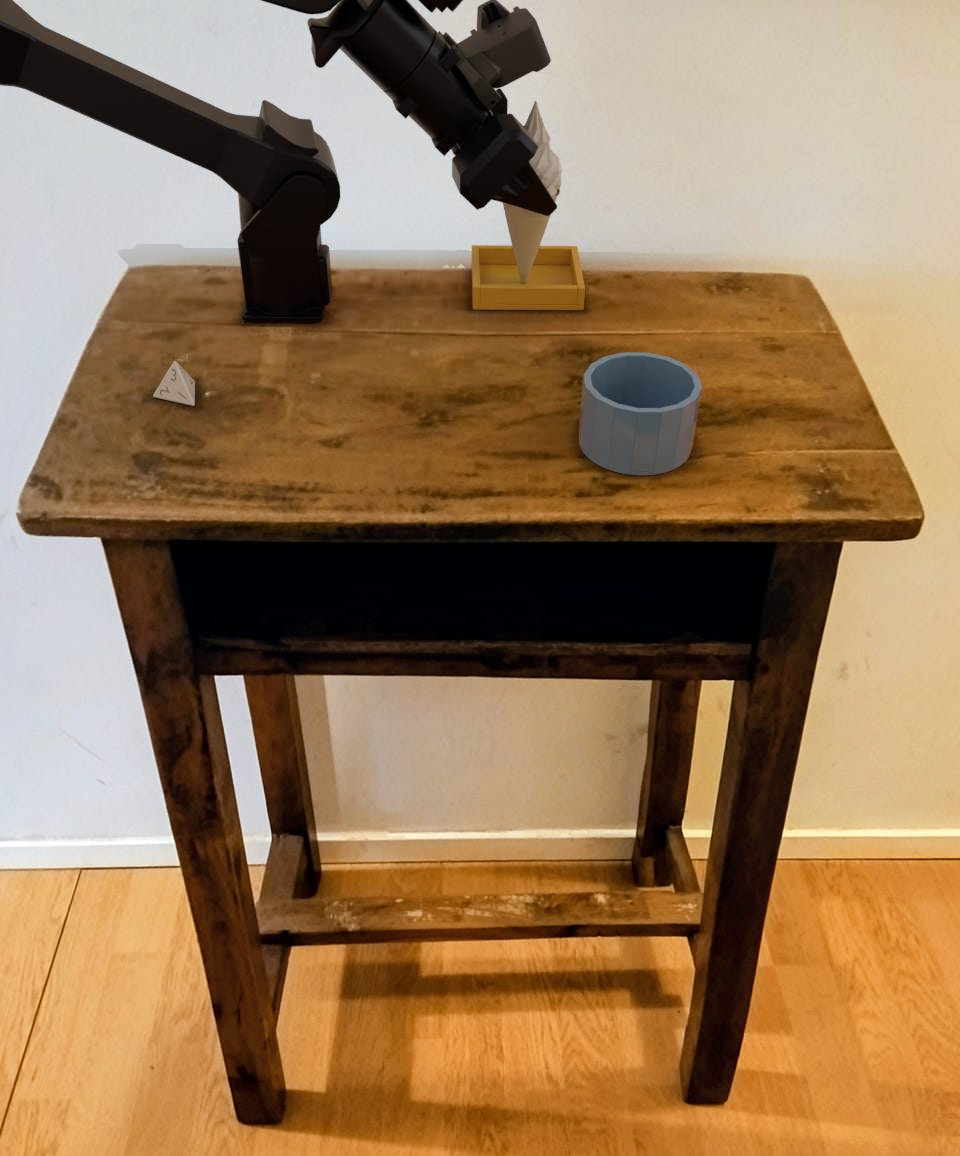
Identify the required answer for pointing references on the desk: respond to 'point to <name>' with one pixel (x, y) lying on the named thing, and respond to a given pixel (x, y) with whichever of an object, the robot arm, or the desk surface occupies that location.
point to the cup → (638, 413)
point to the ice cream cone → (523, 222)
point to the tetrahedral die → (177, 386)
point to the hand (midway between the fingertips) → (545, 198)
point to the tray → (547, 285)
